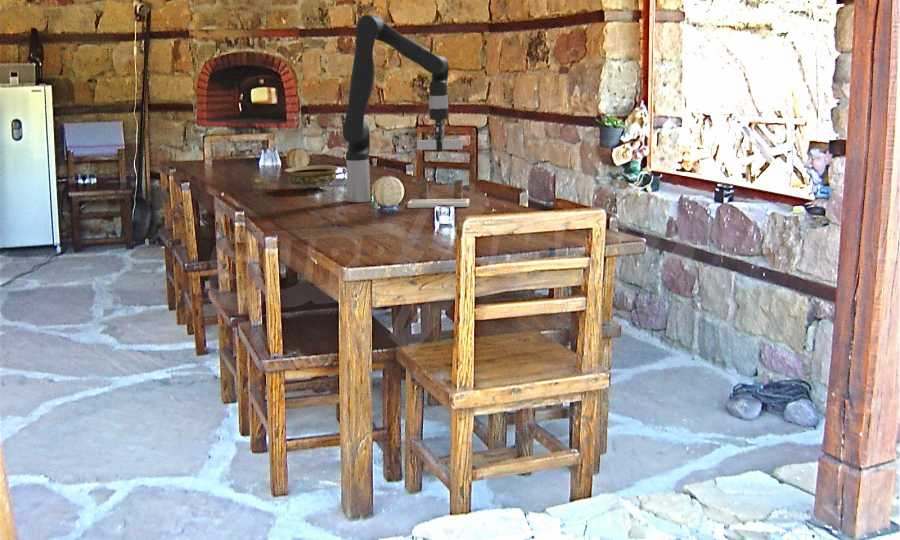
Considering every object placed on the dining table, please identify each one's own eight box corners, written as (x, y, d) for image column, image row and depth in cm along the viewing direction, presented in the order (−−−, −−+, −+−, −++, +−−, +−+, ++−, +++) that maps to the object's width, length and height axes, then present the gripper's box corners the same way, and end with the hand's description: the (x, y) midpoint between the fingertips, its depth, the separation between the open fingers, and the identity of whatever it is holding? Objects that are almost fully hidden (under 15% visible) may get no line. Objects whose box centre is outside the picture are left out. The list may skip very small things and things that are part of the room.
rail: (417, 149, 388) (416, 140, 388) (418, 148, 392) (417, 140, 391) (461, 149, 387) (461, 140, 386) (462, 148, 390) (462, 139, 389)
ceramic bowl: (275, 189, 446) (274, 167, 444) (323, 184, 458) (322, 163, 456) (301, 196, 421) (300, 173, 419) (351, 191, 433) (350, 169, 431)
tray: (407, 208, 382) (407, 203, 381) (411, 204, 391) (410, 199, 391) (467, 207, 379) (467, 202, 379) (469, 203, 389) (469, 198, 388)
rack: (416, 203, 393) (415, 182, 391) (418, 201, 398) (417, 180, 397) (465, 203, 391) (464, 181, 389) (466, 200, 396) (466, 179, 395)
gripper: (431, 106, 393) (432, 149, 397) (427, 108, 379) (428, 152, 383) (449, 106, 392) (450, 148, 396) (446, 108, 378) (447, 152, 382)
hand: (439, 150), depth 389 cm, fingers closed on rail, 3 cm apart
